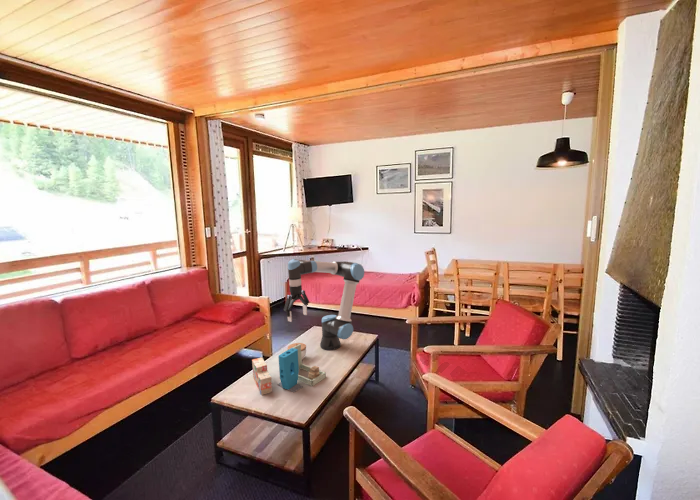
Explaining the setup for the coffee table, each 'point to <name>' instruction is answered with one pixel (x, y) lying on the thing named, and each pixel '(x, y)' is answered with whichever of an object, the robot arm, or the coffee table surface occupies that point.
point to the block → (289, 368)
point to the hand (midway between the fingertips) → (297, 317)
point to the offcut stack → (313, 372)
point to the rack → (307, 368)
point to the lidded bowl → (303, 348)
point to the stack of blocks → (261, 376)
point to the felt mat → (294, 388)
